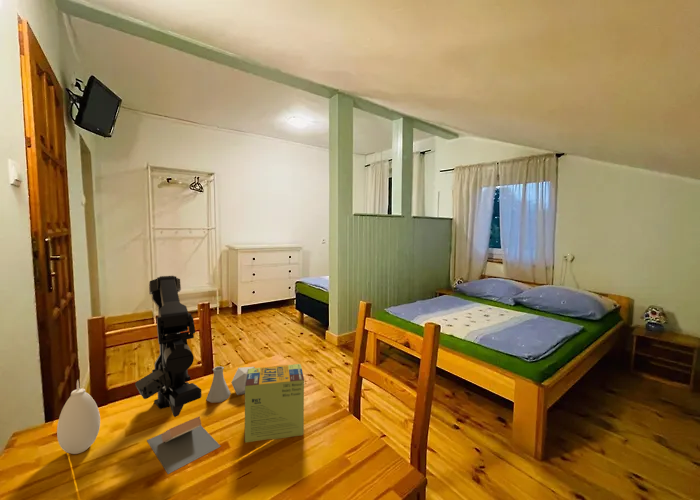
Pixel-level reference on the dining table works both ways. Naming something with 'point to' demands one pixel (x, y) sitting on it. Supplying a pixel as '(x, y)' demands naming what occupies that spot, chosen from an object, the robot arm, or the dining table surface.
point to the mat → (183, 448)
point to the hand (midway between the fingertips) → (176, 415)
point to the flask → (218, 387)
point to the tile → (181, 429)
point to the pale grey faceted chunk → (240, 380)
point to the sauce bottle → (78, 422)
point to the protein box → (274, 402)
